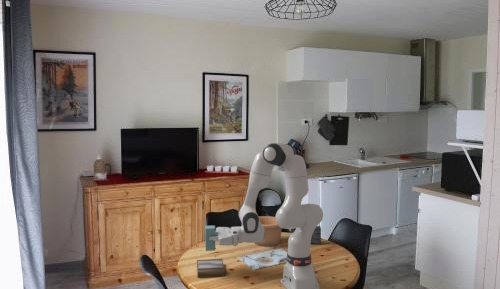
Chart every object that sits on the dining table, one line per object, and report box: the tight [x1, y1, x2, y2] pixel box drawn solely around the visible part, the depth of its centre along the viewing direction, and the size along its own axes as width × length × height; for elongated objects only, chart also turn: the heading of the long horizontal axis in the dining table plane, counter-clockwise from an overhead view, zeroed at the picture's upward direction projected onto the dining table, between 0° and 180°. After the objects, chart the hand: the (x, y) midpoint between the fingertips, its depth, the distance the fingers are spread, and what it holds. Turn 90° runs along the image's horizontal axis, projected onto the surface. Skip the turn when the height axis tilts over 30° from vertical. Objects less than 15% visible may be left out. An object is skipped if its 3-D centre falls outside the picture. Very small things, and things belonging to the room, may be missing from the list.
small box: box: [311, 225, 322, 245], centre depth 261 cm, size 11×6×10 cm, turn 84°
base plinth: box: [196, 258, 226, 278], centre depth 216 cm, size 16×14×3 cm
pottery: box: [253, 215, 283, 248], centre depth 261 cm, size 22×22×14 cm
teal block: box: [204, 225, 216, 252], centre depth 215 cm, size 5×5×12 cm
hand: (208, 236), depth 214 cm, fingers closed on teal block, 5 cm apart
